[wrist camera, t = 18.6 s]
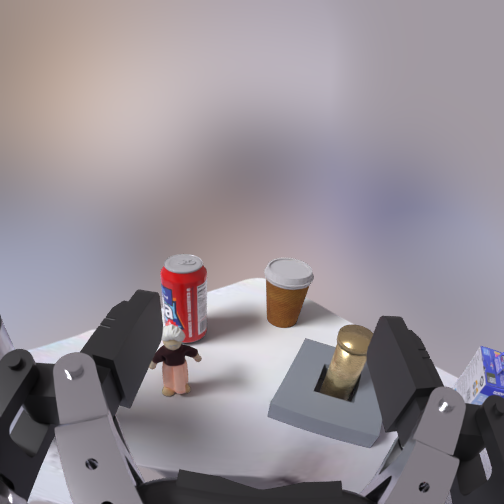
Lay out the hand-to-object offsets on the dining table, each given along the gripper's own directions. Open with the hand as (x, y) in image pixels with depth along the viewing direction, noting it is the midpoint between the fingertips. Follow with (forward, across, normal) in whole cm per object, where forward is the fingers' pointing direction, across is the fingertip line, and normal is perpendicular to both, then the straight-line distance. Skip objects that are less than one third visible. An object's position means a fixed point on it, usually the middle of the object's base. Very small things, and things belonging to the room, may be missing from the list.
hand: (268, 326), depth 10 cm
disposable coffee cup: (+42, -5, +31) cm, 52 cm away
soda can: (+34, +13, +31) cm, 47 cm away
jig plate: (+21, -13, +31) cm, 39 cm away
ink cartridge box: (+14, -36, +31) cm, 50 cm away
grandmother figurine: (+20, +11, +31) cm, 38 cm away
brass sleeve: (+21, -13, +31) cm, 39 cm away
